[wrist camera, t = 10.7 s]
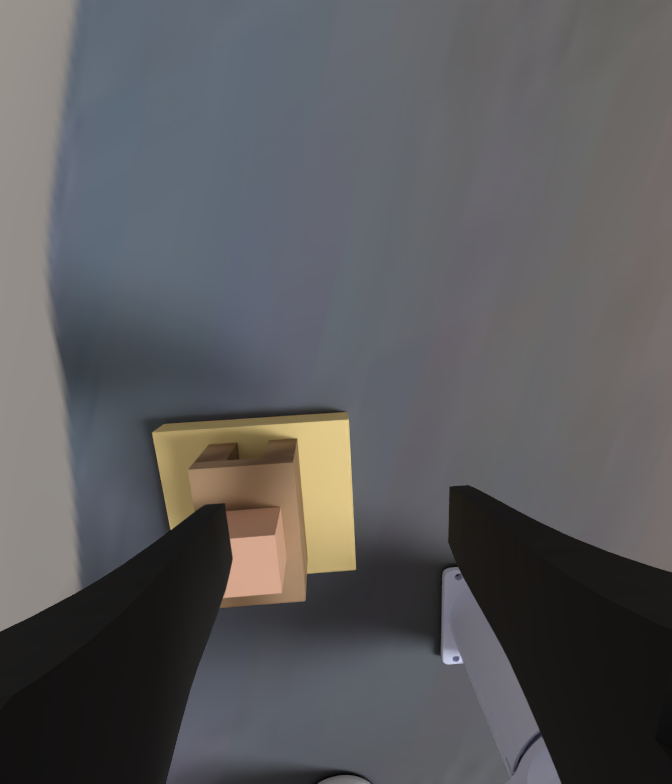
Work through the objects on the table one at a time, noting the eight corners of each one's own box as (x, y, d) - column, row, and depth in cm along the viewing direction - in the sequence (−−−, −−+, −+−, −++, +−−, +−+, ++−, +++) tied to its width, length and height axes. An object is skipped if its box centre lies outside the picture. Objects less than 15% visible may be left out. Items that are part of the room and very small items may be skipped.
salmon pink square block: (280, 506, 17) (274, 535, 15) (286, 559, 18) (281, 593, 16) (219, 511, 17) (205, 540, 15) (227, 563, 18) (214, 598, 16)
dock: (346, 412, 21) (348, 419, 20) (353, 553, 23) (356, 569, 22) (163, 423, 21) (152, 432, 19) (189, 566, 23) (180, 583, 22)
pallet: (297, 438, 20) (292, 462, 17) (307, 558, 21) (305, 601, 18) (208, 444, 19) (187, 469, 16) (227, 565, 21) (211, 608, 18)
